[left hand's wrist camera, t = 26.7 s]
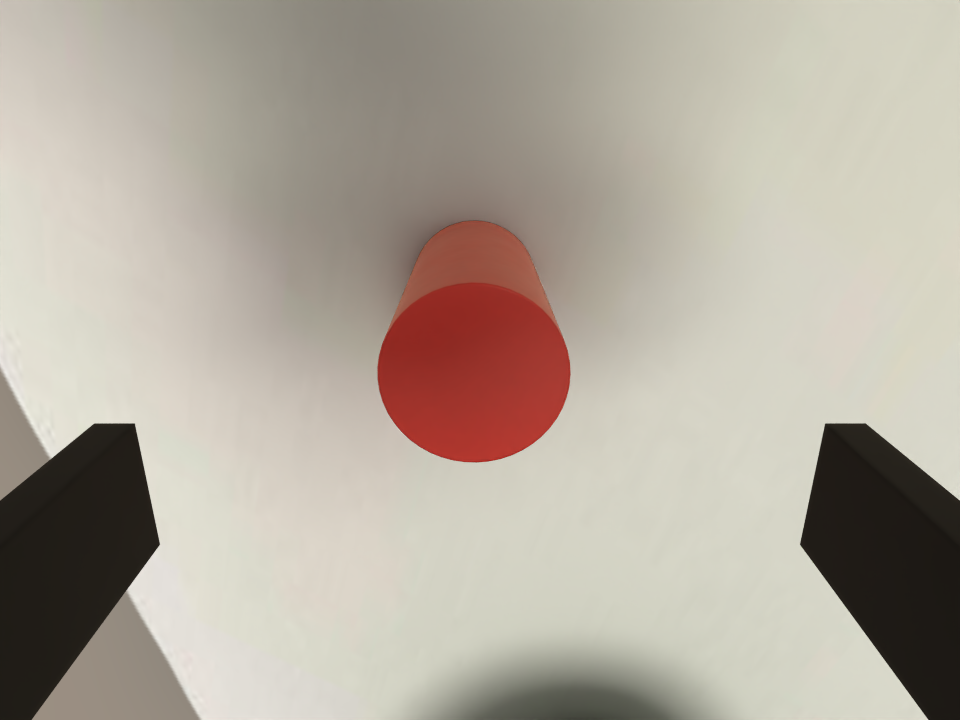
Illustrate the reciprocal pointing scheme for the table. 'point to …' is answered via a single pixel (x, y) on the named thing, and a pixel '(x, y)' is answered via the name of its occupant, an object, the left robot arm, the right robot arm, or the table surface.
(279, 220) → the table surface
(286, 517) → the table surface
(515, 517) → the table surface
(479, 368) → the canister
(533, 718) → the table surface
